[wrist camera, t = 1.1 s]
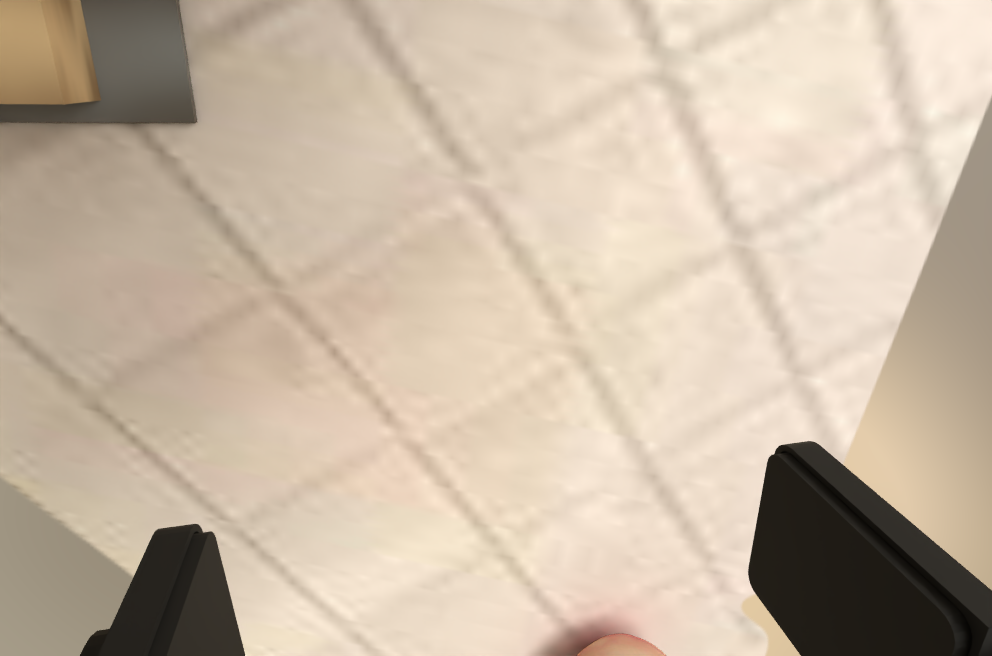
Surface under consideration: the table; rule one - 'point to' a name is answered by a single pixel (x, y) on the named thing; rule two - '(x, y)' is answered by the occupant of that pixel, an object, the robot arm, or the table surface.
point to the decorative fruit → (621, 647)
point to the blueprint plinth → (94, 62)
